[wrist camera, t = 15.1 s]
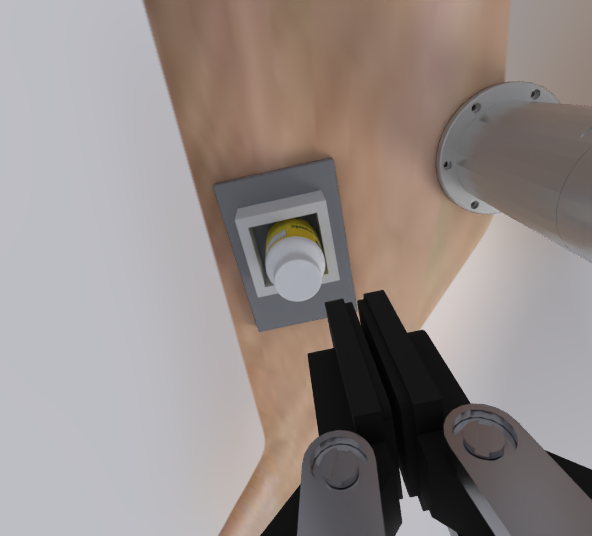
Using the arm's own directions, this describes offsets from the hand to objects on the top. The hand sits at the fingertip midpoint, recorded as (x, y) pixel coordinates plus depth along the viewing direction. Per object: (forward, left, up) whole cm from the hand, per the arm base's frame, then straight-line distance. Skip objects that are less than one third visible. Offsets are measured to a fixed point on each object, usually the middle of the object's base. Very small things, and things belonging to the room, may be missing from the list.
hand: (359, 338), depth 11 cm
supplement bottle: (+2, +8, -28) cm, 29 cm away
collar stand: (+2, +10, -29) cm, 31 cm away
